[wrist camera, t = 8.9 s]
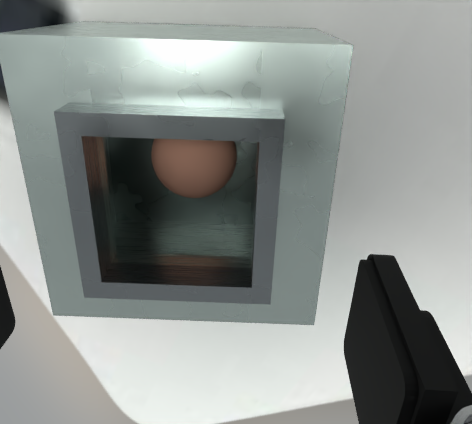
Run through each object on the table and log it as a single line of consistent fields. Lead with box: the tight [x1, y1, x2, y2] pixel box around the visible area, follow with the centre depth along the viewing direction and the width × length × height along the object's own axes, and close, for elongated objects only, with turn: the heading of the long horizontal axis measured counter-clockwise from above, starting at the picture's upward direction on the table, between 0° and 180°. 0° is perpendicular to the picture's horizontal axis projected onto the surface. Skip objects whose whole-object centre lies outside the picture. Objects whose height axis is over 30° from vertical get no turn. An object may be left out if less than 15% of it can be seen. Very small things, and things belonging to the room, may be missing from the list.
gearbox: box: [0, 21, 353, 325], centre depth 21 cm, size 12×14×10 cm
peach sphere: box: [151, 139, 237, 198], centre depth 22 cm, size 4×4×4 cm
